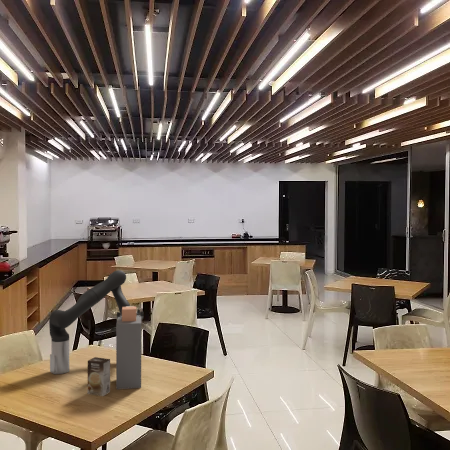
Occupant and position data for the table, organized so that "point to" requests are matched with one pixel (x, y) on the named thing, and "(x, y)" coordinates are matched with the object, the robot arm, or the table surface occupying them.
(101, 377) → the coffee box
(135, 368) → the pedestal
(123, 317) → the salmon orange block
